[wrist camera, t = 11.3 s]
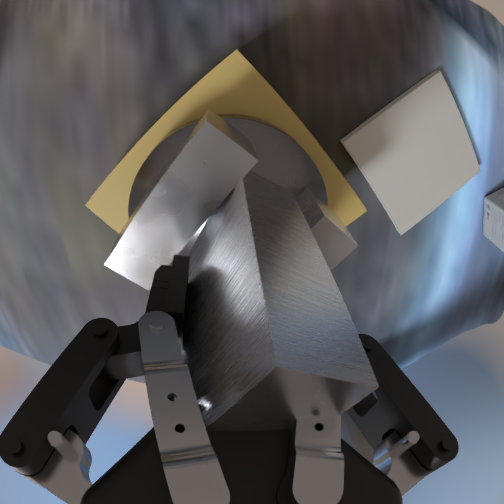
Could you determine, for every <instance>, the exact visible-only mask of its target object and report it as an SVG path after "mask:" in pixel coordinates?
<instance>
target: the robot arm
mask: <svg viewBox="0 0 504 504" xmlns="http://www.w3.org/2000/svg"><path fill="white" fill-rule="evenodd" d="M189 265H190V256H184V255H174V257H173V262H172V266H170V265H161V266H160V267H159V268H158V269H157V270H156V271H155V274H154V278H153V282H152V286H151V290H150V295H149V299H148V304H147V308H146V312H145V314H144V315H143V316H142V317H141V318H140V320H139V321H138V322H136V323H134V324H131V325H126V326H119V327H117V325H116V324H115V323H114V322H113V321H111V320H109V319H106V318H97V319H93V320H91V321H89V322H88V323H87V324H86V325H85V326H84V327H83V328H82V330H81V331H80V332H79V333H78V334H77V336H76V337H75V338H74V339H73V340H72V341H71V343H70V344H69V345H68V346H67V348H66V349H65V350H64V351H63V352H62V354H61V355H60V356H59V357H58V359H57V360H56V361H55V362H54V364H53V365H52V366H51V367H50V369H49V370H48V371H47V372H46V374H45V375H44V376H43V377H42V379H41V380H40V381H39V383H38V384H37V385H36V387H35V388H34V389H33V390H32V392H31V393H30V394H29V396H28V397H27V398H26V400H25V401H24V402H23V404H22V405H21V406H20V408H19V409H18V411H17V412H16V414H15V415H14V416H13V418H12V419H11V420H10V422H9V423H8V425H7V426H6V428H5V429H4V430H3V432H2V433H1V435H0V456H1V458H2V459H3V461H4V462H5V463H7V464H8V465H9V466H11V467H12V468H14V469H15V470H16V471H17V472H18V473H19V474H21V475H22V476H24V477H25V478H27V479H28V480H30V481H31V482H33V483H35V484H38V485H39V486H41V487H43V488H46V489H47V490H48V491H50V492H51V493H53V494H54V495H56V496H57V497H58V498H60V499H61V500H63V501H65V502H66V503H68V504H402V495H404V493H406V492H407V491H408V490H410V489H411V488H412V487H413V486H414V485H416V484H417V483H418V482H419V481H420V480H421V479H423V478H424V477H425V476H427V475H428V474H430V473H432V472H433V471H435V470H437V469H438V468H440V467H442V466H443V465H445V464H446V463H448V462H449V461H451V460H452V459H454V458H455V457H456V455H457V453H458V442H457V439H456V438H455V436H454V435H453V434H452V432H451V431H450V430H449V428H448V427H447V426H446V425H445V423H444V422H443V421H442V420H441V418H440V417H439V416H438V415H437V413H436V412H435V411H434V410H433V408H432V407H431V406H430V405H429V403H428V402H427V401H426V400H425V399H424V397H423V396H422V395H421V393H420V392H419V391H418V390H417V389H416V387H415V386H414V385H413V384H412V383H411V381H410V380H409V379H408V378H407V376H406V375H405V374H404V373H403V372H402V371H401V369H400V368H399V367H398V366H397V364H396V363H395V362H394V361H393V360H392V358H391V357H390V356H389V355H388V354H387V353H386V351H385V350H384V349H383V348H382V347H381V345H380V344H379V343H378V342H377V341H376V340H375V339H374V338H372V337H371V336H369V335H365V334H358V335H359V338H360V340H361V343H362V345H363V348H364V350H365V352H366V355H367V357H368V360H369V362H370V365H371V367H372V370H373V372H374V375H375V377H376V380H377V383H378V385H379V387H378V388H377V389H376V390H374V391H373V392H372V393H370V394H369V395H368V396H366V397H365V398H364V399H362V400H361V401H359V402H358V403H357V404H355V405H354V406H352V407H351V408H350V409H348V410H347V411H345V412H344V413H342V414H341V415H339V416H338V417H333V418H324V419H313V420H300V421H296V423H295V424H294V426H293V427H292V429H291V430H279V431H206V428H205V424H204V421H203V418H202V415H201V404H198V401H197V397H196V394H195V390H194V387H193V383H192V380H191V376H190V372H189V368H188V365H187V363H184V360H183V356H182V352H181V348H182V346H183V336H184V323H185V312H186V301H187V291H188V280H189ZM143 375H145V380H146V386H147V392H148V398H149V404H150V409H151V414H152V419H153V424H154V427H153V428H152V429H151V430H150V431H149V432H148V433H147V434H146V435H145V436H144V437H143V438H142V439H141V440H140V441H139V442H138V443H137V444H136V445H135V446H134V447H133V448H132V449H130V450H129V451H128V452H127V453H126V454H125V455H124V456H123V457H122V458H121V459H120V460H119V461H118V462H117V463H116V464H114V465H113V466H112V467H111V468H110V469H109V470H108V471H107V472H106V473H105V474H104V475H103V476H101V477H100V478H99V479H98V480H97V481H96V482H95V483H94V484H92V483H91V481H90V478H89V469H90V466H91V463H92V456H91V453H90V451H89V449H88V448H87V447H86V445H85V444H86V443H87V441H88V439H89V438H90V436H91V434H92V433H93V431H94V429H95V428H96V426H97V425H98V423H99V421H100V420H101V418H102V416H103V415H104V413H105V412H106V410H107V408H108V407H109V405H110V404H111V402H112V400H113V399H114V397H115V396H116V394H117V392H118V391H119V389H120V387H121V386H122V385H123V383H124V381H125V380H126V378H131V377H137V376H143Z"/></svg>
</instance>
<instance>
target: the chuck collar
mask: <svg viewBox="0 0 504 504" xmlns="http://www.w3.org/2000/svg"><path fill="white" fill-rule="evenodd" d="M250 170H251V171H253V172H255V173H257V174H259V175H261V176H263V177H265V178H267V179H268V180H270V181H272V182H274V183H276V184H278V185H280V186H281V187H283V188H285V189H287V190H289V191H291V192H292V193H293V195H294V197H295V199H296V201H297V203H298V205H299V207H300V209H301V211H302V213H303V215H304V217H305V219H306V221H307V223H308V225H309V227H310V229H311V231H312V234H313V236H314V238H315V240H316V242H317V244H318V246H319V248H320V250H321V252H322V254H323V257H324V259H325V261H326V263H327V265H328V267H329V270H330V271H331V270H332V269H333V268H334V267H335V266H337V265H338V264H339V263H340V262H341V261H342V260H343V259H344V258H345V257H346V256H348V255H349V254H350V253H351V252H352V251H353V250H354V249H355V248H356V247H357V246H358V245H357V243H356V242H355V240H354V239H353V237H352V235H351V234H350V232H349V231H348V229H347V228H346V226H345V225H344V223H343V222H342V220H341V219H340V217H339V216H338V215H337V214H336V213H335V212H334V211H333V210H332V209H331V208H330V207H329V206H328V199H327V193H326V188H325V185H324V182H323V179H322V176H321V174H320V172H319V170H318V168H317V166H316V164H315V163H314V162H313V160H312V159H311V157H310V156H309V155H308V154H307V152H306V151H305V150H304V149H303V148H302V147H301V146H300V145H299V144H298V143H297V142H296V141H295V140H294V139H293V138H292V137H291V136H290V135H289V134H287V133H286V132H285V131H283V130H282V129H281V128H279V127H277V126H275V125H273V124H272V123H270V122H267V121H264V120H262V119H259V118H256V117H252V116H247V115H240V114H216V113H214V112H213V111H212V110H210V109H209V110H208V111H207V113H206V114H205V115H204V116H203V117H202V118H199V119H196V120H193V121H190V122H188V123H186V124H184V125H182V126H180V127H178V128H177V129H175V130H174V131H172V132H171V133H169V134H168V135H167V136H166V137H165V138H164V139H162V140H161V141H160V142H159V143H158V144H157V146H156V147H155V148H154V149H153V151H152V152H151V153H150V154H149V156H148V157H147V158H146V160H145V161H144V163H143V164H142V166H141V168H140V169H139V171H138V173H137V175H136V177H135V179H134V182H133V185H132V188H131V192H130V196H129V205H128V215H129V219H128V220H127V222H126V224H125V225H124V227H123V228H122V230H121V232H120V234H119V236H118V238H117V240H116V242H115V244H114V246H113V248H112V250H111V252H110V254H109V256H108V259H107V261H106V263H105V266H107V267H109V268H110V269H112V270H114V271H116V272H117V273H119V274H121V275H122V276H124V277H126V278H128V279H129V280H131V281H133V282H134V283H136V284H138V285H140V286H141V287H143V288H145V289H147V290H150V288H151V286H152V282H153V278H154V274H155V271H156V270H157V269H158V268H159V267H160V266H161V265H170V266H172V262H173V257H174V255H184V256H188V254H189V252H190V250H191V249H192V247H193V245H194V243H195V241H196V240H197V238H198V236H199V234H200V232H201V231H202V229H203V227H204V225H205V224H206V222H207V220H208V218H209V217H210V215H211V214H212V213H213V212H214V211H215V209H216V208H217V207H218V206H219V205H220V204H221V202H222V201H223V200H224V199H225V198H226V197H227V196H228V194H229V193H230V192H231V191H232V190H233V189H234V188H235V186H236V185H237V183H238V182H239V180H240V179H241V177H242V176H243V177H244V176H245V175H246V174H247V173H248V172H249V171H250Z"/></svg>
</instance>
